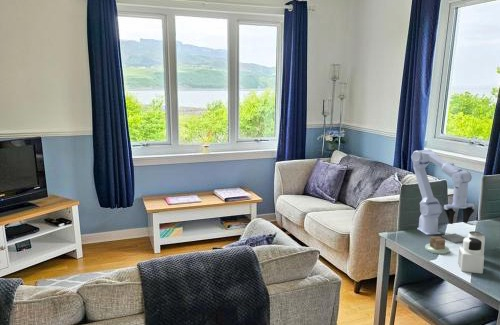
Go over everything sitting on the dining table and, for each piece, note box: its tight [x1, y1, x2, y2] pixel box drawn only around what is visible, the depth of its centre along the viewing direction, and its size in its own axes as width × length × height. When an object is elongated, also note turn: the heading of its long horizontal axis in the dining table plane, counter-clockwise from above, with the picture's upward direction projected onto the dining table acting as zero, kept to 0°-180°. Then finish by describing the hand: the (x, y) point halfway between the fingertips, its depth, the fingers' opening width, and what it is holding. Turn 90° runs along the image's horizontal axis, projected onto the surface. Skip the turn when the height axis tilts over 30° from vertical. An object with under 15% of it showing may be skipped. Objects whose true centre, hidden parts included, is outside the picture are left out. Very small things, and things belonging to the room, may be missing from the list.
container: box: [457, 237, 485, 274], centre depth 154 cm, size 8×8×13 cm
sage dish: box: [424, 242, 450, 255], centre depth 175 cm, size 10×10×1 cm
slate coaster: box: [440, 233, 466, 244], centre depth 187 cm, size 9×9×1 cm
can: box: [467, 230, 486, 256], centre depth 163 cm, size 6×6×12 cm
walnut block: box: [429, 236, 446, 250], centre depth 174 cm, size 4×4×4 cm
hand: (457, 222), depth 180 cm, fingers open, 7 cm apart
